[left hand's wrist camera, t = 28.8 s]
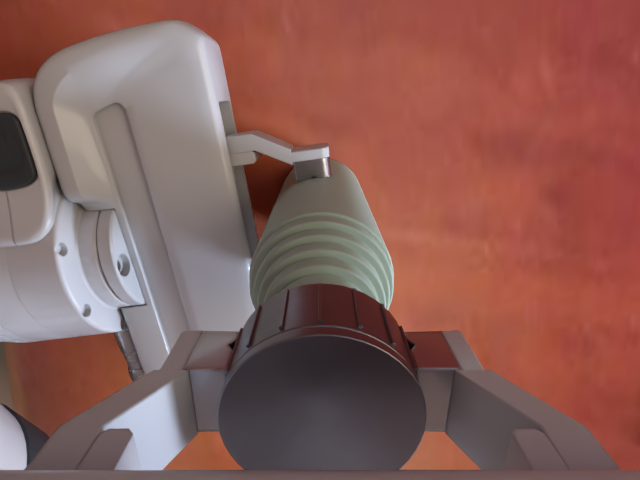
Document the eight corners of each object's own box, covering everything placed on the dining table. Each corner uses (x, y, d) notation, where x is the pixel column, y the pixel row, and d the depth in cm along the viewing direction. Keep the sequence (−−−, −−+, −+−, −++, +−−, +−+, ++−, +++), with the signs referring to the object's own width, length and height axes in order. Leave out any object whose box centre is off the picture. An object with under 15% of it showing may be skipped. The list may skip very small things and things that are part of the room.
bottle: (268, 216, 26) (173, 436, 9) (301, 143, 24) (258, 251, 8) (339, 248, 27) (369, 502, 10) (375, 179, 25) (484, 349, 8)
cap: (268, 438, 11) (256, 514, 9) (208, 307, 10) (178, 364, 8) (421, 402, 11) (445, 475, 9) (384, 259, 9) (403, 307, 7)
